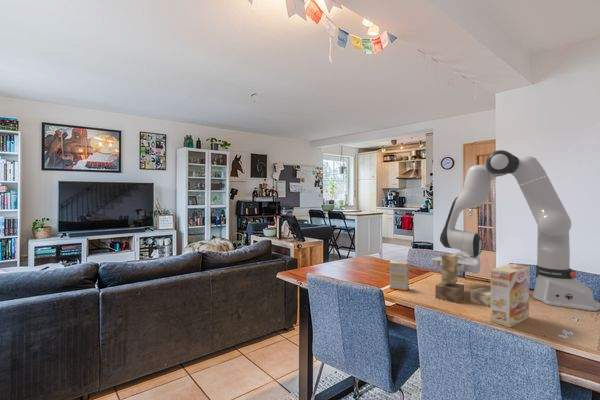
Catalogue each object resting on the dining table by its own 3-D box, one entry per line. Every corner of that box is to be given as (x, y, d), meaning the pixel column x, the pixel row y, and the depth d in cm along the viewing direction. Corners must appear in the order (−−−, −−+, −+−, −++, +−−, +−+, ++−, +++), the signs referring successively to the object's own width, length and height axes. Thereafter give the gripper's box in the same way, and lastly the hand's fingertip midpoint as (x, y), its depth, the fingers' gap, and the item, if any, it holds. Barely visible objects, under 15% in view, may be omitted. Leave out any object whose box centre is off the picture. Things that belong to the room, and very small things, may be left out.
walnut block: (464, 298, 145) (464, 284, 145) (456, 303, 139) (456, 289, 139) (443, 293, 152) (443, 280, 152) (435, 298, 145) (435, 285, 145)
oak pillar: (457, 281, 145) (457, 254, 145) (453, 284, 142) (453, 256, 141) (445, 279, 149) (446, 253, 148) (441, 281, 145) (441, 255, 145)
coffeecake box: (510, 328, 114) (510, 272, 113) (489, 321, 120) (489, 268, 119) (530, 318, 122) (530, 266, 121) (509, 312, 128) (509, 262, 127)
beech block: (500, 304, 137) (500, 292, 137) (487, 307, 134) (487, 295, 134) (483, 298, 145) (483, 287, 144) (470, 301, 142) (470, 289, 141)
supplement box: (409, 288, 160) (409, 261, 159) (406, 291, 156) (406, 263, 155) (392, 286, 164) (392, 260, 163) (389, 288, 160) (389, 262, 159)
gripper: (437, 252, 161) (425, 257, 151) (483, 258, 147) (473, 264, 137) (437, 265, 162) (425, 270, 152) (483, 272, 147) (473, 279, 137)
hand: (448, 267), depth 144 cm, fingers closed on oak pillar, 5 cm apart
